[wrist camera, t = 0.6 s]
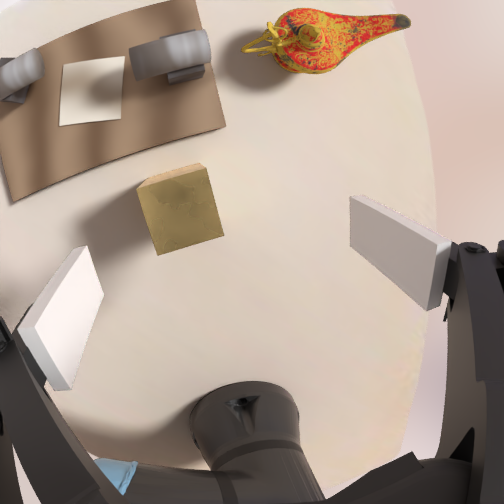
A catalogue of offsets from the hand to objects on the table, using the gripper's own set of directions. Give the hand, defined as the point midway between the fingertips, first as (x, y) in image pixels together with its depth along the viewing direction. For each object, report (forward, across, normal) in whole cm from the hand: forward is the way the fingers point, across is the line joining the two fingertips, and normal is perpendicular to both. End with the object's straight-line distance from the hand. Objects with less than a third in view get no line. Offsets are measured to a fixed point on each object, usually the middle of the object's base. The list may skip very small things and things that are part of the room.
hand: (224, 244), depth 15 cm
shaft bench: (+16, +9, -11) cm, 21 cm away
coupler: (+16, +2, +1) cm, 16 cm away
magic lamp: (+17, -12, -13) cm, 25 cm away
